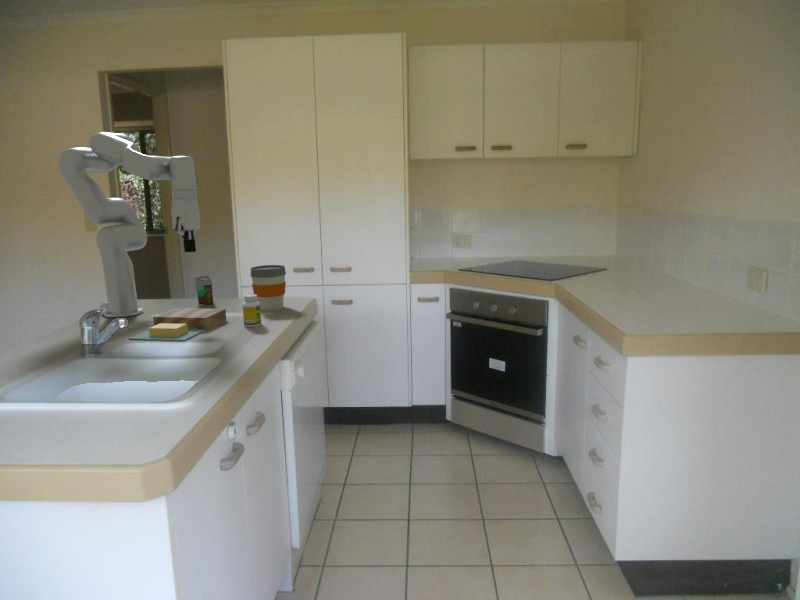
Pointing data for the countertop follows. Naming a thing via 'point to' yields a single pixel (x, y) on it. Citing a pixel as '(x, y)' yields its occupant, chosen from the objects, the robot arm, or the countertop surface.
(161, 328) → the yellow sponge
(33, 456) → the countertop surface
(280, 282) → the reusable coffee cup
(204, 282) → the food container
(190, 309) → the brown wooden block
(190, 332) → the mat
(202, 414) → the countertop surface
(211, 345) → the countertop surface
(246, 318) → the supplement bottle
